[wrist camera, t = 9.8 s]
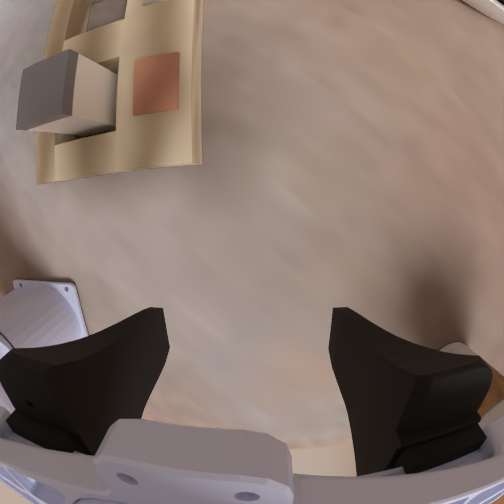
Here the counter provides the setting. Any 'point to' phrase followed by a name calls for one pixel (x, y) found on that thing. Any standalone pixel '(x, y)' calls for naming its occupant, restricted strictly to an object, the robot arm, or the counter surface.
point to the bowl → (489, 8)
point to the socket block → (132, 89)
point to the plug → (67, 96)
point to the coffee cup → (498, 397)
